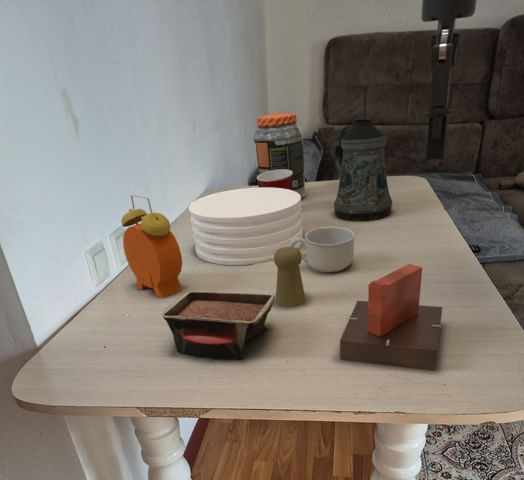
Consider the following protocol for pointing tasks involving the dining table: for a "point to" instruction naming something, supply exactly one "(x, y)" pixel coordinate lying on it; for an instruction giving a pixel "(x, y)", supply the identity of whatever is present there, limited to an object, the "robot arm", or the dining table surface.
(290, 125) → the supplement tub
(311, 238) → the teacup
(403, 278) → the orange-red rectangular block
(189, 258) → the dining table surface
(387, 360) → the brown square platform
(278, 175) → the plastic cup
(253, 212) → the plate stack
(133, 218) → the alarm clock
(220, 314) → the baking dish
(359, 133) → the beer stein
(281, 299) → the olive pepper shaker
